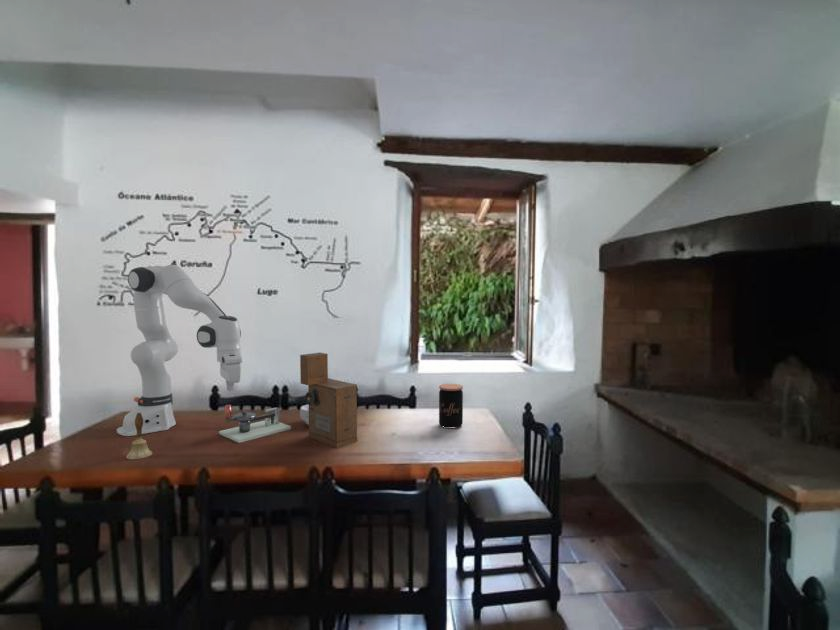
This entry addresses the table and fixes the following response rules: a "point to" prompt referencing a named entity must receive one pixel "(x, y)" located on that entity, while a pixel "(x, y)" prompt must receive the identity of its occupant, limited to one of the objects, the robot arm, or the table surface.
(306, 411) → the paper bowls
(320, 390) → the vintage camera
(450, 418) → the coffee jar
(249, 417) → the telegraph key
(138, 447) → the hand bell
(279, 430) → the board
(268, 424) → the grey support bracket
